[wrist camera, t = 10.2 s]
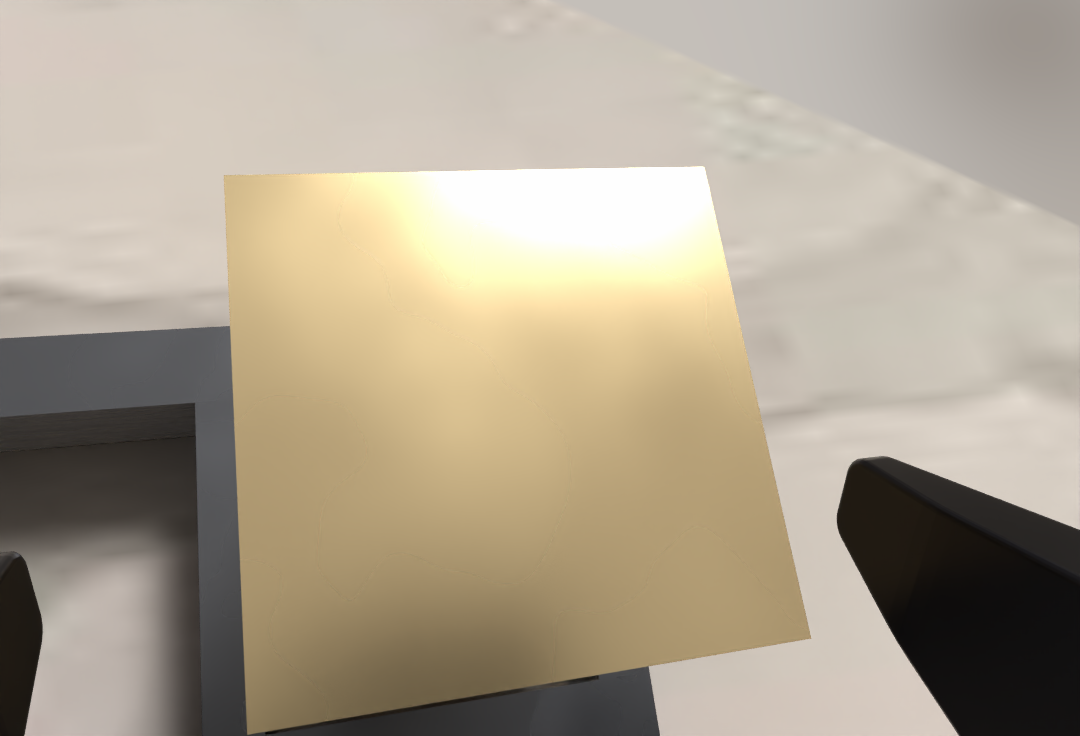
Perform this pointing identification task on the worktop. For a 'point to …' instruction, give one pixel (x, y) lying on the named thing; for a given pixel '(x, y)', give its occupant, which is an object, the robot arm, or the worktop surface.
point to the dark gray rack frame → (208, 413)
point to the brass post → (490, 437)
